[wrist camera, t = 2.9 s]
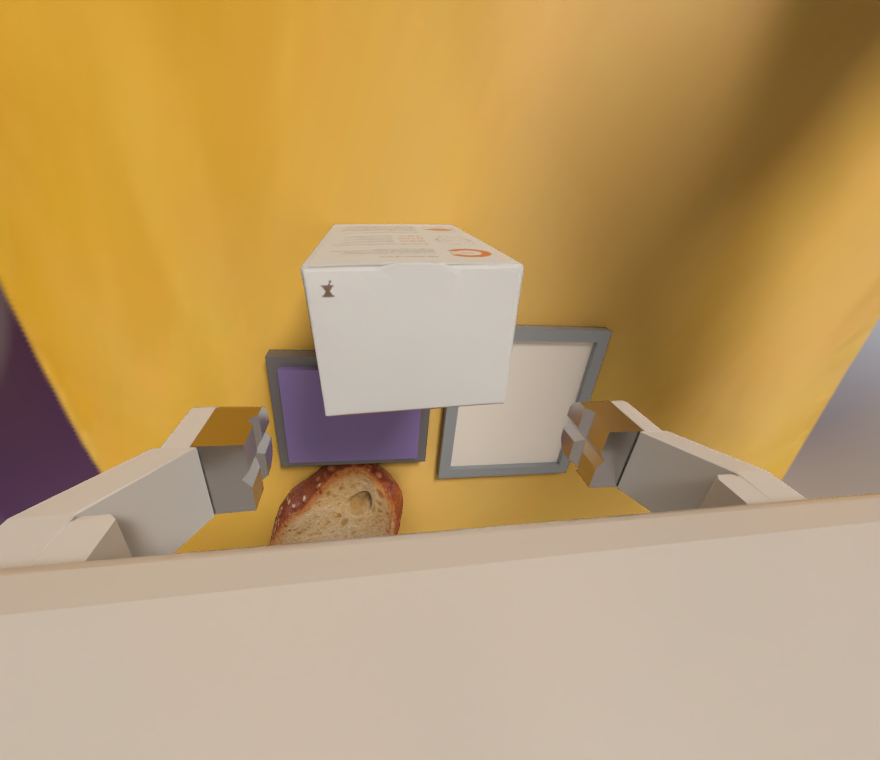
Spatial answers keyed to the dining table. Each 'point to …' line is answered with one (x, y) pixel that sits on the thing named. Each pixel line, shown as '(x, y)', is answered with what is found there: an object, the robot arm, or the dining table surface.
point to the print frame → (526, 406)
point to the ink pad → (335, 421)
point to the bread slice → (340, 506)
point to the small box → (410, 317)
